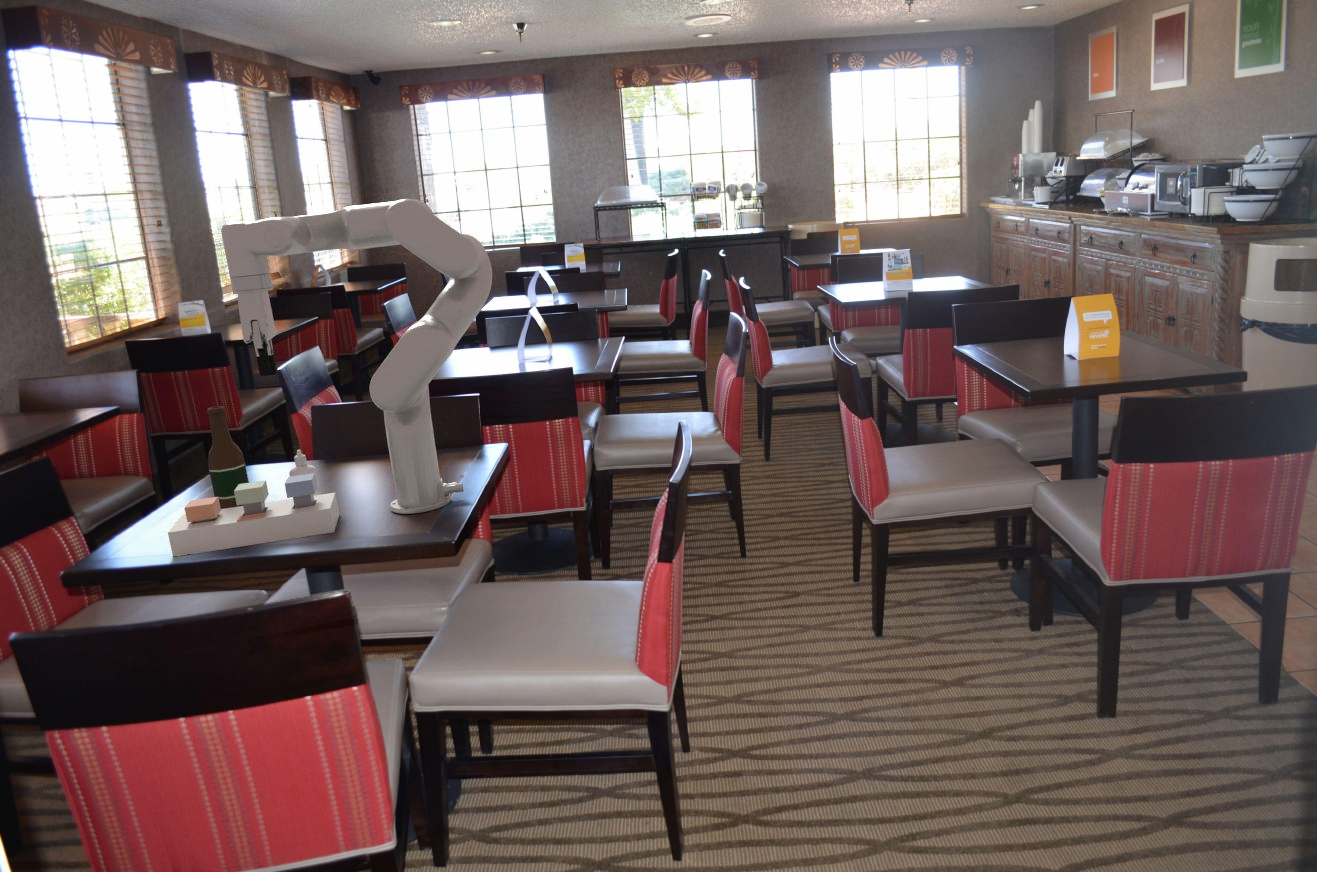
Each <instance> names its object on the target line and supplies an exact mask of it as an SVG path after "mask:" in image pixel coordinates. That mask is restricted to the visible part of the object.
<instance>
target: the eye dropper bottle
mask: <svg viewBox="0 0 1317 872" xmlns="http://www.w3.org/2000/svg"><path fill="white" fill-rule="evenodd" d="M293 460H294V464H295V466H294V467H292V468H291V469H290V471H289V473H288V475H289V477H293V476H300V475H307V474H314V473H315V478H316V483H317V489H316V492H315V494H313V496H315V495H321V489H320V485H319V484H320V483H319V477H318V472H317V469H316V467H315V466H314V465H311V464H308V460H307V457H306V454H303V453H302V450H301V449H297V450H296V455H295V456H293Z"/></svg>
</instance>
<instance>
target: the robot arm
mask: <svg viewBox="0 0 1317 872" xmlns="http://www.w3.org/2000/svg"><path fill="white" fill-rule="evenodd" d="M221 226H222V227H221V230H220V232H221V238H222V242H223V243H222V244H223V248H224V254H225V259H226V264H227V265H226V266H227V269H228V274H229V280H230V284H231V289H232V290H231V291H232V294H233V295H237V303H238V312H239V320H240V325H241V332H242V339H243V342H244V343H245V344H250V343H253V345H254V350H255V354H256V357H255V358H256V362H257V367H258V371H259V376H260V377H267V376H276V374H278V368H277V363H276V355H275V354H274V348H273V342H272V341H273V340H272V339H273V338H274V337H275V336H276V328H275V327H276V326H275V320H274V316H273V309H272V306H271V301H270V296H269V291H273V290H274V286H273V282H272V281H273V280H272V276H271V269H270V266H269V260H268V256H272V257H285V256H292V255H299V254H306V253H312V252H313V253H314V252H322V251H324V252H325V251H329V250H331V251H332V250H342V249H343V250H350V251H354V250H355V251H356V250H365V249H374V248H380V247H391V246H398V245H399V246H400V245H401V246H402V247H404V248H405V249H407V250H408V251H409V252H410V253H412V254H413V255H415V256H416V257H417V258H419V259H421V261H423V262H425V263H426V264H428V265H429V266H430V267H432V268H434V269H435V270H436V271H437V272H439V273H441V274H442V275H444V276H446V277H447V278H449V279H448V282H447V284H445V287H444V288H443V289H442V291H441V292H440V293H439V294H438V296H437V297H436V299H435V300H434V302H433V303H432V305H431V306H430V307H429V309H428V310H427V311H426V313H425V314H424V315H423V316H422V317H421V318H420V319H419V320H418V321H416V322H414V323H413V324H412V325H411V326H410V327H408V328H407V329H406V331H405V332H404V333H403V334H402V336H401V337H400V338H399V340H398V342H396V344H395V345H394V346H393V348H392V349H391V350H390V352H389V353H388V355H387V356H386V358H384V360H383V361H382V362H381V364H380V366H379V367H377V369H376V371H375V372H374V373H373V375H372V377H371V380H370V383H369V394H370V398H371V400H372V402H373V403H374V405H375V406H376V407H377V408H379V409H380V410H382V411H383V418H384V420H383V421H384V427H385V428H384V429H385V434H386V439H387V441H386V442H387V447H388V452H389V459H390V467H391V473H392V478H393V483H394V484H393V485H394V491H395V497H396V498H395V499H394V500H393V501H391V502H390V504H389V507H390V511H392V512H393V513H396V514H401V515H403V514H407V515H408V514H410V515H411V514H419V513H426V512H430V511H434V510H437V509H440V508H443V507H445V506H447V505H448V504H449V503H451V500H452V498H451V494H452V493H453V494H454V493H455V494H456V493H462V492H463V493H464V484H463V482H459V483H457V481H454V482H451V483H446V482H443V477H441V476H440V469H439V468H440V467H439V461H438V454H437V447H436V441H435V434H434V427H433V420H432V413H431V404H430V403H431V402H430V389H429V387H430V386H429V384H430V383H431V381H432V380H433V378H434V377H435V376H436V375H437V374H438V372H439V371H440V370H441V368H442V367H443V365H444V364H445V363H446V362H447V360H448V359H449V358H450V356H451V355H452V354H453V352H454V350H455V348H456V346H457V344H458V343H459V341H460V340H461V339H462V337H463V336H464V335H465V333H466V331H467V330H469V327H471V325H472V323H473V322H474V321H475V319H476V317H477V316H478V315H479V314H480V312H481V310H482V309H483V307H484V305H485V303H486V302H487V300H488V297H489V295H490V292H491V289H492V285H493V267H492V263H491V260H490V258H489V257H490V256H489V255H488V253H487V251H486V249H485V246H484V245H483V244H482V243H481V242H480V241H479V240H478V239H477V238H476V237H474V236H472V235H470V234H466V233H461V232H459V231H458V230H455V229H454V228H453V227H452V226H450V225H449V224H447V223H446V222H444V221H443V220H441V219H440V218H439V217H437V215H435V214H434V212H433V211H432V209H431V207H430V206H429V205H428V203H426V202H424V201H422V200H419V199H415V198H402V199H398V200H394V201H392V200H391V201H386V202H376V203H368V204H367V203H365V204H358V205H357V204H356V205H350V206H346V207H345V206H344V207H343V208H340V209H338V210H334V211H331V212H329V211H328V212H323V213H315V214H314V213H313V214H307V215H297V216H295V215H293V216H275V217H269V218H264V219H259V220H245V221H244V220H243V221H234V222H233V221H232V222H227V223H224V224H223V225H221Z"/></svg>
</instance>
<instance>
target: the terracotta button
mask: <svg viewBox="0 0 1317 872" xmlns="http://www.w3.org/2000/svg"><path fill="white" fill-rule="evenodd" d="M220 512H221V508H220V503H219V498H218V497H215V496H213V497H205V498H200V499H199V498H198V499H193V500H189V502H188V503H187V504H186V505H185V506H184V513H185V514H186V518H187V522H193V521H194V524H195V523H201V522H208V521H215V519H216V517H217V516H218V514H219V513H220Z"/></svg>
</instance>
